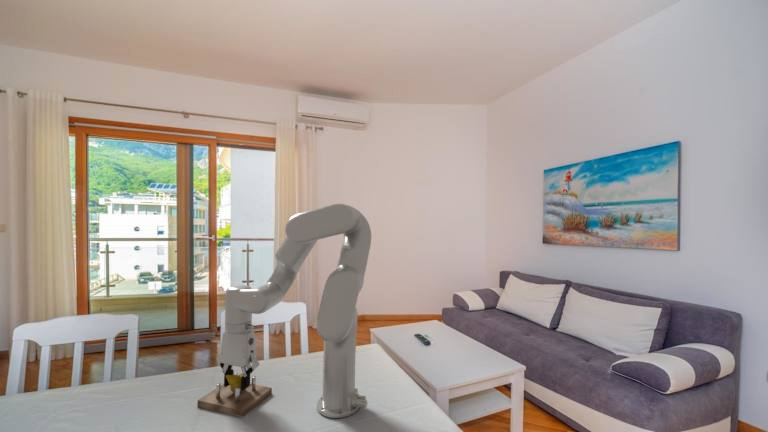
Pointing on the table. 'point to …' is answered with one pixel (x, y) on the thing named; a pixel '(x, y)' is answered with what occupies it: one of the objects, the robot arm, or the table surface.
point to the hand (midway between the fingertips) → (237, 385)
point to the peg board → (235, 398)
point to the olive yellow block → (234, 381)
